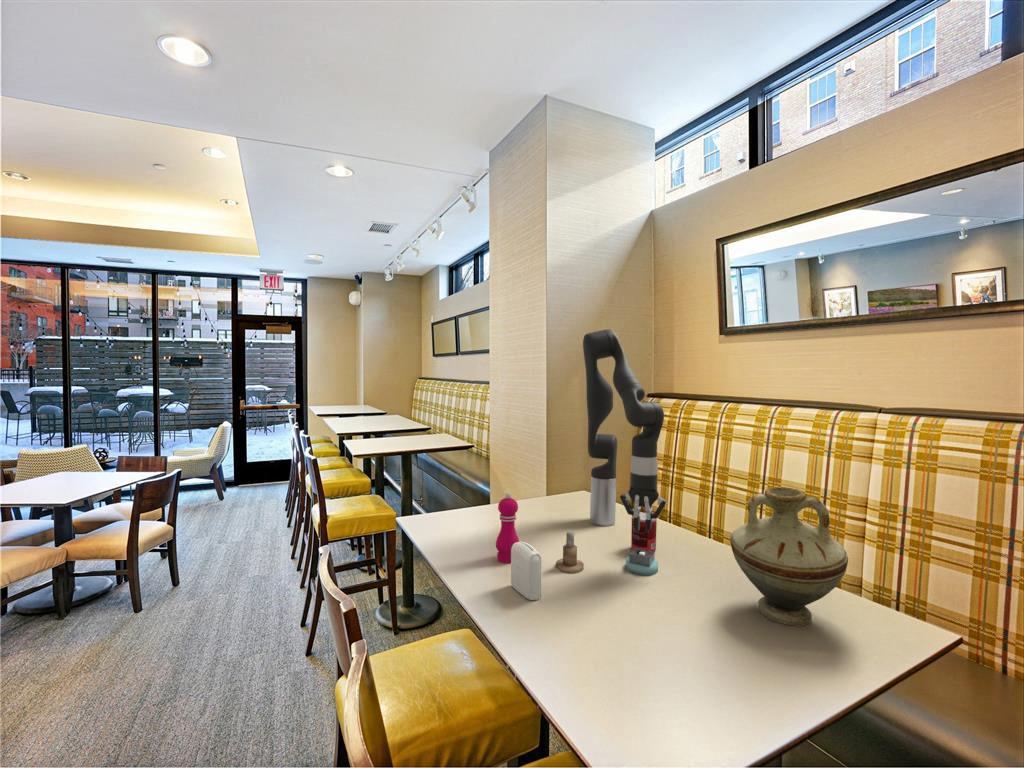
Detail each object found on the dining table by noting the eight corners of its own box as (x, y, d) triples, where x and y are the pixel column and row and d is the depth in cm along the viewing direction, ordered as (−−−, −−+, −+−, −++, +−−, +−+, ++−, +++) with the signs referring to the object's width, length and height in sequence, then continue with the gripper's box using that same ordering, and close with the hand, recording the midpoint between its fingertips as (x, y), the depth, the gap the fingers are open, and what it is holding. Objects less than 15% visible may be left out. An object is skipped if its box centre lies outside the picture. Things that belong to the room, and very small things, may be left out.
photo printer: (508, 585, 122) (509, 539, 122) (522, 582, 124) (523, 536, 124) (528, 602, 113) (529, 552, 113) (543, 598, 115) (544, 549, 115)
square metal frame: (629, 562, 133) (629, 554, 133) (634, 555, 138) (634, 547, 138) (649, 567, 130) (649, 558, 130) (654, 560, 135) (654, 551, 135)
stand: (551, 562, 137) (552, 529, 137) (576, 560, 139) (577, 527, 139) (562, 574, 129) (562, 539, 129) (588, 571, 131) (588, 536, 131)
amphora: (710, 600, 118) (708, 485, 114) (778, 577, 126) (778, 470, 123) (795, 658, 96) (796, 519, 92) (871, 626, 104) (874, 497, 101)
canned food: (653, 546, 151) (653, 512, 151) (658, 555, 143) (659, 520, 143) (629, 544, 152) (629, 511, 152) (633, 554, 144) (633, 519, 144)
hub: (620, 563, 137) (620, 548, 137) (646, 560, 140) (647, 545, 139) (636, 576, 128) (636, 560, 128) (664, 573, 131) (664, 557, 131)
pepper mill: (516, 565, 135) (517, 497, 135) (492, 562, 137) (493, 495, 136) (521, 555, 142) (522, 491, 142) (498, 553, 144) (499, 489, 143)
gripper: (616, 470, 133) (615, 530, 134) (666, 476, 126) (664, 539, 127) (623, 466, 140) (622, 523, 140) (671, 471, 133) (669, 531, 134)
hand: (642, 530), depth 134 cm, fingers closed
